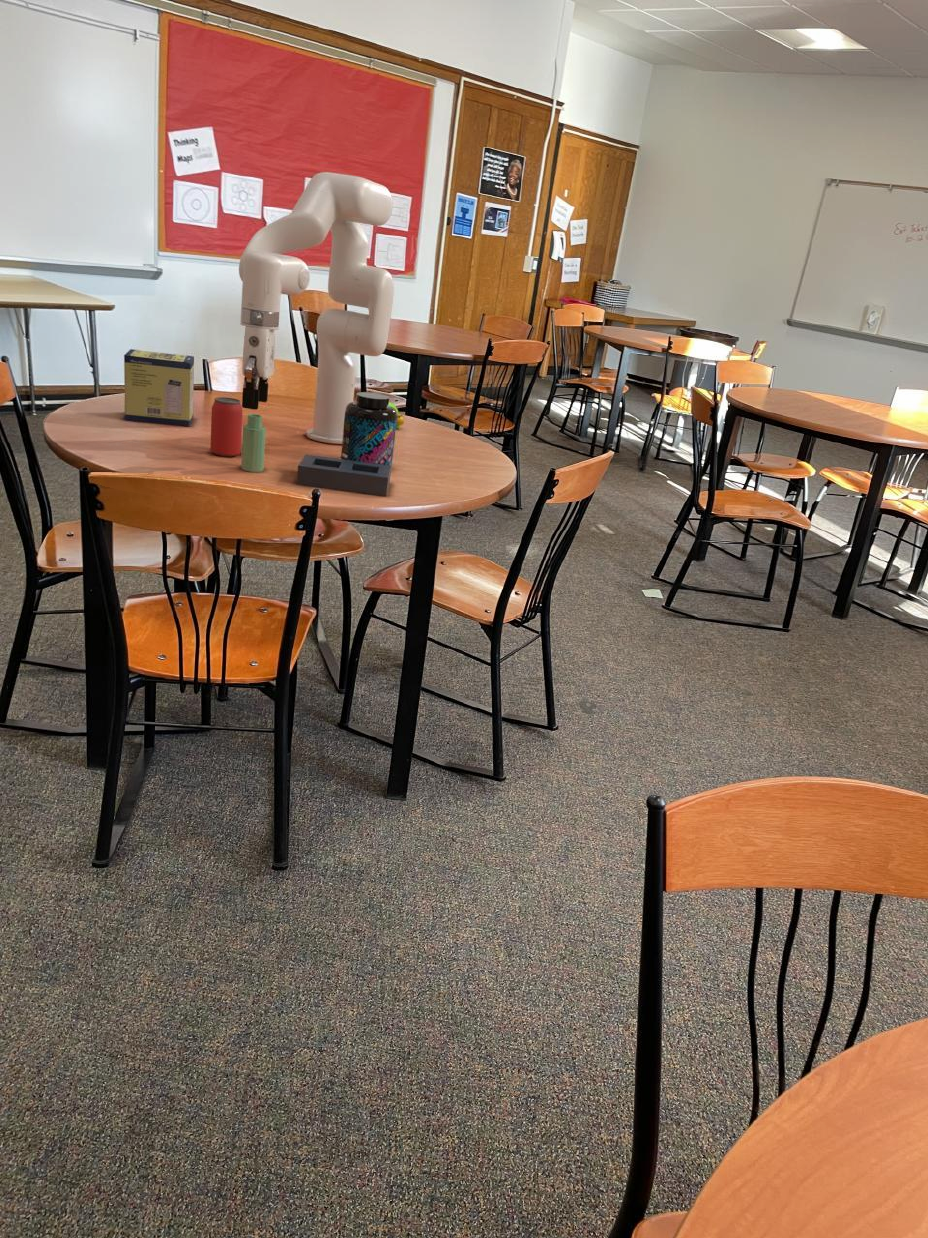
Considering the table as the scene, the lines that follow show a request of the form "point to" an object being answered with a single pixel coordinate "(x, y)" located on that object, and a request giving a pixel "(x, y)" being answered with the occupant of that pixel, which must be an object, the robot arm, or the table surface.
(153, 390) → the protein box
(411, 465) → the table surface
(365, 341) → the robot arm
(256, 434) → the bottle
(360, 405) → the container
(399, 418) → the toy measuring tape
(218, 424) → the beer can
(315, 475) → the hole block
